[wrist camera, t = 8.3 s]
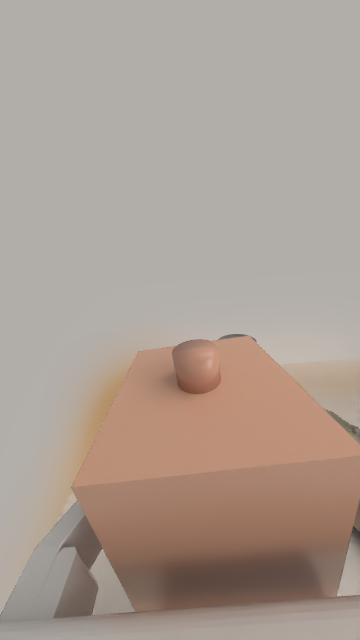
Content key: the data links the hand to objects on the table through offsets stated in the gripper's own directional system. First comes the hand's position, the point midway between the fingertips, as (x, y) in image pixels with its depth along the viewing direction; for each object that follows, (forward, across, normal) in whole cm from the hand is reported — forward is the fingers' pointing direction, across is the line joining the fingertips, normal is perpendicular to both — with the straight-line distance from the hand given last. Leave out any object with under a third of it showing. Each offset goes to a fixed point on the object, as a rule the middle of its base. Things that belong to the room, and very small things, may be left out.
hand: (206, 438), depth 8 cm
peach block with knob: (-1, 0, +5) cm, 5 cm away
